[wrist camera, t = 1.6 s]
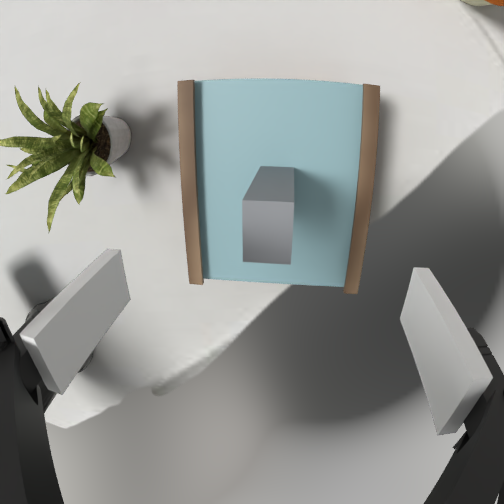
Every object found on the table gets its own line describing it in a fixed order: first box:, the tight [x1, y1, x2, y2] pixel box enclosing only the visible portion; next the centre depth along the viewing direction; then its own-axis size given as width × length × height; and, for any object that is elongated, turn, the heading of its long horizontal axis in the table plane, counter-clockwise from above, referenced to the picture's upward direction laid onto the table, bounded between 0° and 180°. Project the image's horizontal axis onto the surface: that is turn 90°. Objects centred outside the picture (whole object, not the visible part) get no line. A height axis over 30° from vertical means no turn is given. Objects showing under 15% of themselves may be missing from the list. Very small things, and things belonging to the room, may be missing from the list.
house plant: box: [0, 84, 131, 234], centre depth 28 cm, size 14×14×16 cm
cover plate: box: [195, 79, 363, 287], centre depth 25 cm, size 15×20×12 cm
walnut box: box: [178, 80, 380, 294], centre depth 32 cm, size 17×20×8 cm
